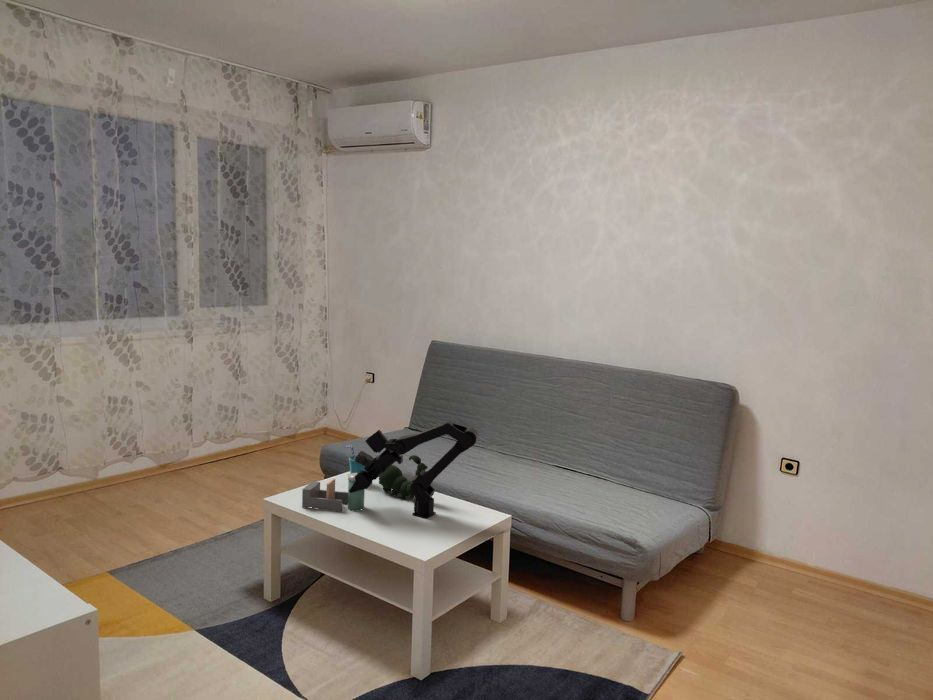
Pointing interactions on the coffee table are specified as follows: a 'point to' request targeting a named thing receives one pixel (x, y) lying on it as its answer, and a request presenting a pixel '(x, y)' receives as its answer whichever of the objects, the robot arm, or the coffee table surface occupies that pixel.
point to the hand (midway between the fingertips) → (353, 488)
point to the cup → (354, 463)
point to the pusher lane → (322, 498)
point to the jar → (355, 495)
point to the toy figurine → (400, 479)
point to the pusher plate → (331, 490)
